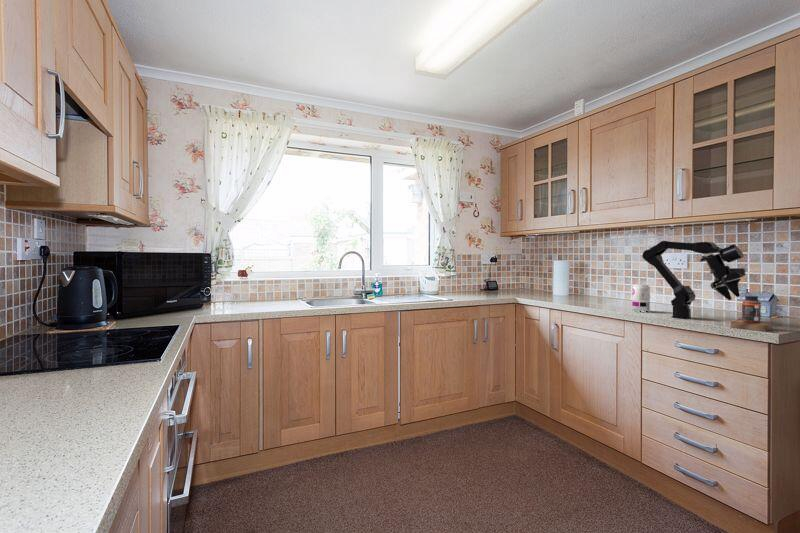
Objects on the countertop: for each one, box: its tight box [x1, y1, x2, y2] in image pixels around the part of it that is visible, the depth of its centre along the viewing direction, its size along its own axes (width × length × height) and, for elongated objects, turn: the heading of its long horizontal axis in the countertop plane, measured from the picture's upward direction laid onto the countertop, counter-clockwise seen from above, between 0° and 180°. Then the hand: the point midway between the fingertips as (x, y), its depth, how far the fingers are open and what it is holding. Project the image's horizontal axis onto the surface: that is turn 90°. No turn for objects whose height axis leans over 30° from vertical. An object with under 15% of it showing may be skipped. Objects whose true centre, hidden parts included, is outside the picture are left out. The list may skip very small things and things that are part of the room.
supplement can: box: [631, 283, 651, 313], centre depth 220 cm, size 8×8×15 cm
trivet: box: [730, 318, 773, 332], centre depth 169 cm, size 11×11×3 cm
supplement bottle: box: [741, 294, 762, 323], centre depth 169 cm, size 6×6×11 cm
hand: (734, 298), depth 180 cm, fingers open, 9 cm apart
